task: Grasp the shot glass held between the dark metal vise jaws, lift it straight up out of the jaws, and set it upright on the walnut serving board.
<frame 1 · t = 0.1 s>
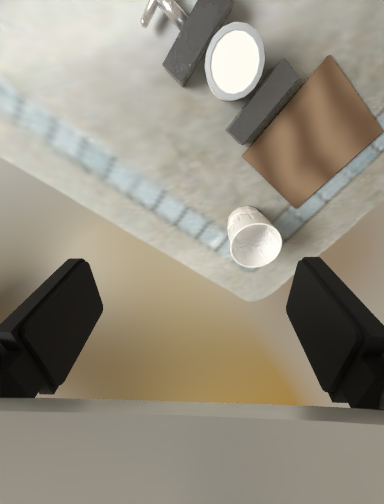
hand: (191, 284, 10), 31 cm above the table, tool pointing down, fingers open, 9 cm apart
serving board: (308, 144, 34), on the table
white cup: (244, 221, 41), on the table
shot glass: (227, 77, 30), on the table
vise: (227, 76, 30), on the table
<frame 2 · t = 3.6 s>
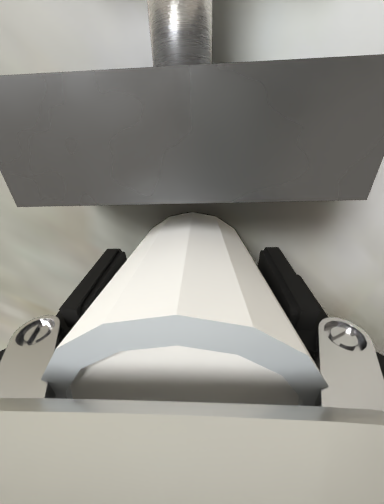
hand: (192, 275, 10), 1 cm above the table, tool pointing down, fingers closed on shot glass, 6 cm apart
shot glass: (193, 260, 11), on the table, touching gripper
vise: (193, 262, 11), on the table
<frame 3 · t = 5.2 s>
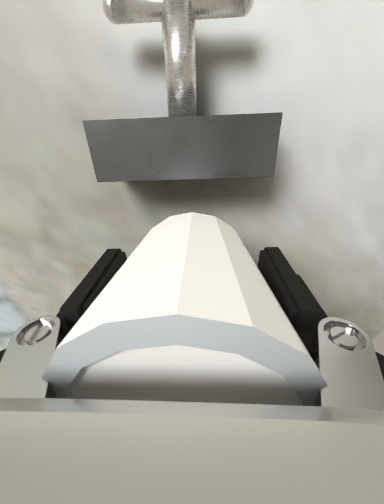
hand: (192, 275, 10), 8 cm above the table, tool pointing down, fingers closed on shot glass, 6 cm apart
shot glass: (193, 260, 11), point 6 cm above the table, touching gripper
vise: (189, 226, 17), on the table
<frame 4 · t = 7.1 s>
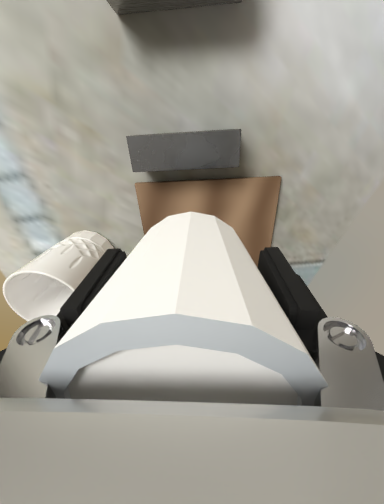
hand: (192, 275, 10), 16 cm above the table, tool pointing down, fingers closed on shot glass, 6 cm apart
serving board: (207, 235, 27), on the table
white cup: (92, 251, 29), on the table
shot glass: (192, 260, 11), point 15 cm above the table, touching gripper
vise: (182, 77, 19), on the table
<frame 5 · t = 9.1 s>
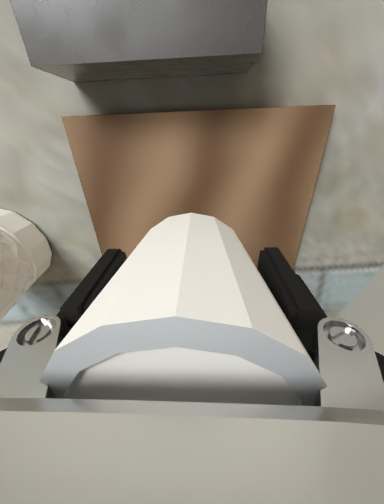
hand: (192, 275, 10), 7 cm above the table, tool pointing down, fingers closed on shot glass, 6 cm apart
serving board: (196, 219, 16), on the table
white cup: (15, 243, 18), on the table
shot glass: (192, 261, 11), point 6 cm above the table, touching gripper
when the fingers open (3 cm above the table, at t = 10.8 s): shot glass drops 1 cm, resting on serving board.
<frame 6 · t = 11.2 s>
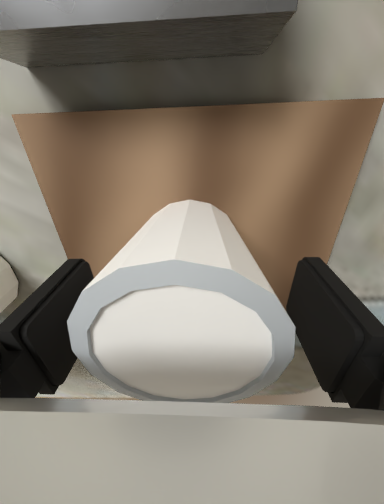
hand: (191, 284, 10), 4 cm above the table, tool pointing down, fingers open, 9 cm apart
serving board: (194, 244, 13), on the table
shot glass: (190, 244, 13), resting on serving board
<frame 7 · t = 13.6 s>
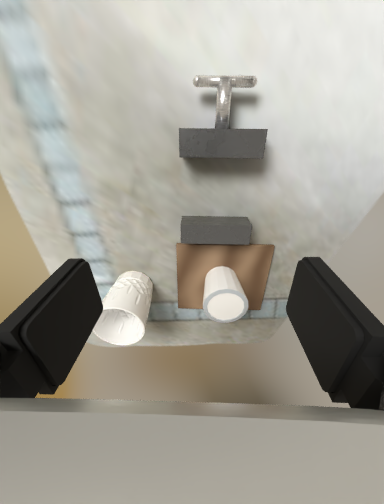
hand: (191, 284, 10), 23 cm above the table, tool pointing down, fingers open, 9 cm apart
serving board: (221, 278, 38), on the table
white cup: (135, 284, 39), on the table
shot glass: (220, 278, 37), resting on serving board
vise: (216, 188, 30), on the table
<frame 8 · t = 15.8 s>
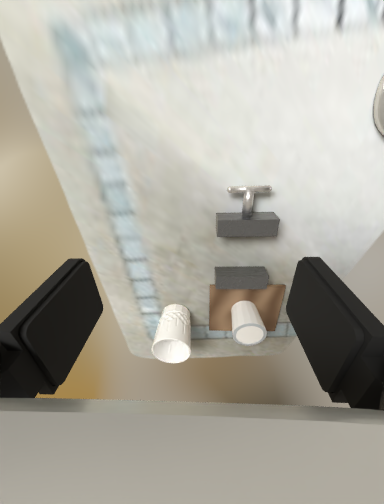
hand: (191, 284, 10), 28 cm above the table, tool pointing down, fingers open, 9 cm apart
serving board: (243, 308, 49), on the table
white cup: (176, 313, 51), on the table
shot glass: (243, 309, 48), resting on serving board
vise: (241, 248, 41), on the table
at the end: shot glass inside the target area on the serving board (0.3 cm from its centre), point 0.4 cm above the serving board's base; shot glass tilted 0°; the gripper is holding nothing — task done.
